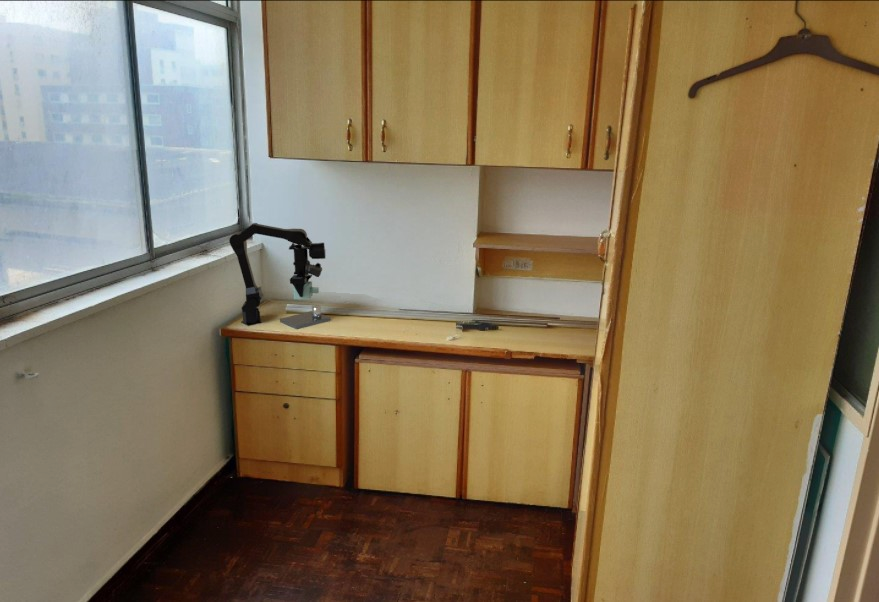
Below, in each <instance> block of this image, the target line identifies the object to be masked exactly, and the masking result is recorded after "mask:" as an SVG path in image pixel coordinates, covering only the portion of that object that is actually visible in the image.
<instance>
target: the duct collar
mask: <svg viewBox="0 0 879 602" xmlns="http://www.w3.org/2000/svg"><path fill="white" fill-rule="evenodd" d="M306 282H307V283H306V284H305V285H304V290H303V297H300V296H299V294H298V292H297V290H296V289H295V287H294V286H293V285H292V289H293V291H292V292H293V300H310V299H311V297H312V296H313V294H319V291H320V290H319V289H320V287H318V286H317V287H315V286H313V281H306Z"/></svg>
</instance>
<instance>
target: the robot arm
mask: <svg viewBox="0 0 879 602" xmlns="http://www.w3.org/2000/svg"><path fill="white" fill-rule="evenodd" d="M255 235H260V236H261V235H262V236H266V237H271V238H278V239H282V240H286V241H288V242H289V243H291V245H289V247H288V250H293V263H292V265H293V266H294V271H293V275H292V276H291V278H289V283H290V284H291V285H292V287H293V286H294V287H295V289H296V290H297V292H298V294H299V296H300V297H303V290H304V285H305V284H306V283H307V282H306V281H309V280H310V279H311V278H312V277H313V276H314V277H316V278H319V277H320V276H321V273H322V271H323V267H322V265H321V263H319V262H316V264H312V263H311V261H310V260H309V258H311V260H319V259H320V260H324V259H326V256H327V255H326V248H325V242H313V241H311V239H310V238H309V237H308V233H307V232H306V230H305V229H303V228H283V227H282V228H281V227H277V226H270V225H267V224H266V225H265V224H261V223H257V222H253V223H251V224H250V225H249V226H247V227H246V228H244V229H243V230H241V231H236V232H233V234H232V235H231V236H230V237H229V240H228V242H229V245H230V246H231V248H232V250H233V252H234V254H235V256H236V257H237V261H238V264H239V267H240V271H241V274H242V279H243V283H244V286H245V299H246V300H245V301H244V302H243V304H242V306H241V312H242V313H241V315H242V320H241V321H240V323H242V324H243V325H246V326H254V325H258V324H262V321H261V311H260V308H259V306H260V305H261V302H262V300H263V297H264V293H263V292H262V286H257V284H256V281H255V277H254V274H253V270H252V267H251V263H250V259H249V255H248V244H247V243H248V242H247V241H248V240H249V239H250V238H252V237H253V236H255Z"/></svg>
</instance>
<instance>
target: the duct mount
mask: <svg viewBox="0 0 879 602" xmlns="http://www.w3.org/2000/svg"><path fill="white" fill-rule="evenodd" d="M330 321H331V318H330V317H329V316H326V315H325V314H322V305H320V304H313V305H312V306H311V311H307V312H303V313H302V312H301V313H298V314H297V313H296V314H293V315H290V316H286V317H282V318H279V322H280V323H281V324H283V325H286V326H287V327H291V328H293V329H295V330H298V329H304V328H307V327H312V326H315V325H319V324H323V323H326V322H327V323H328V322H330Z"/></svg>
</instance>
